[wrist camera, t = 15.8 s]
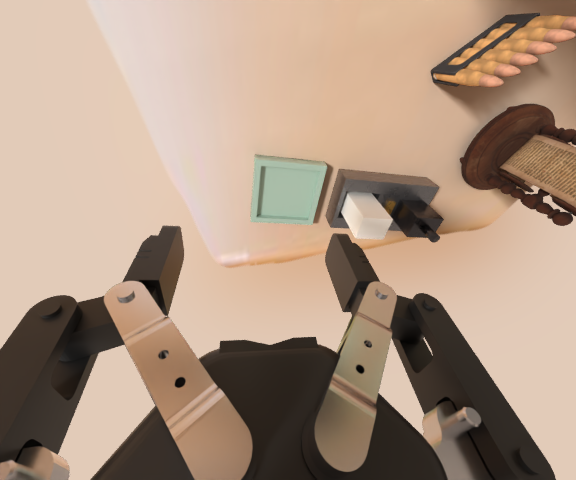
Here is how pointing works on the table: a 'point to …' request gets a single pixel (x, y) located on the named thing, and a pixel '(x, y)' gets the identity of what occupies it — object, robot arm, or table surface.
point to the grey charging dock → (390, 201)
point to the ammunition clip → (504, 49)
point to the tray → (286, 189)
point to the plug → (365, 215)
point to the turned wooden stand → (526, 160)
